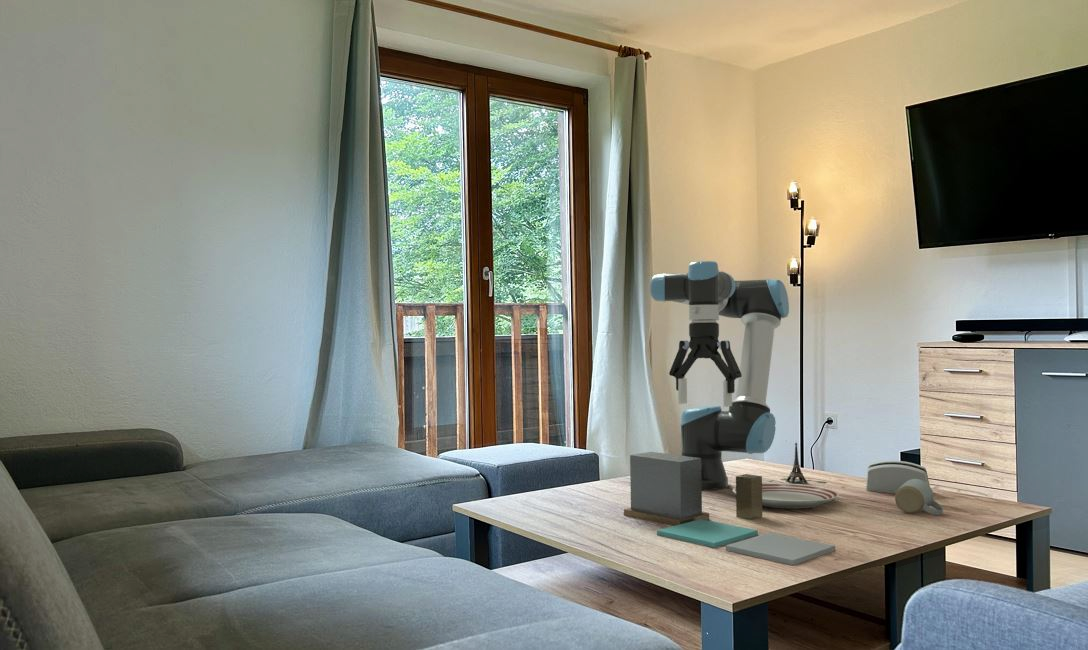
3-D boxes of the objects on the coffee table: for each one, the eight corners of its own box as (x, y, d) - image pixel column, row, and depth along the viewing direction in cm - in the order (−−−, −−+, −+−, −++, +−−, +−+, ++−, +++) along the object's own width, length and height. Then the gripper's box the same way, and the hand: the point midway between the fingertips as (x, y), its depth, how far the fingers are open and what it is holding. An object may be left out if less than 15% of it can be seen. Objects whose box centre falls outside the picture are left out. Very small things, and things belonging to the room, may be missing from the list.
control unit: (623, 515, 216) (623, 455, 216) (652, 508, 223) (652, 450, 223) (680, 527, 202) (679, 463, 202) (709, 519, 210) (708, 458, 210)
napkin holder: (931, 492, 240) (930, 460, 237) (930, 500, 236) (928, 468, 233) (867, 487, 248) (865, 456, 245) (865, 495, 244) (863, 464, 241)
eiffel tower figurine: (829, 484, 257) (828, 439, 257) (814, 489, 249) (814, 443, 249) (782, 478, 267) (781, 435, 267) (767, 483, 259) (766, 439, 259)
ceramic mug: (893, 512, 215) (893, 482, 215) (902, 507, 221) (902, 477, 221) (938, 518, 208) (939, 487, 208) (946, 512, 215) (946, 482, 215)
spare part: (736, 516, 212) (735, 476, 212) (747, 514, 215) (746, 474, 215) (751, 519, 209) (751, 478, 209) (762, 516, 212) (761, 476, 212)
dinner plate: (750, 489, 249) (750, 477, 249) (849, 497, 235) (849, 485, 235) (718, 507, 225) (718, 494, 225) (825, 518, 211) (825, 504, 211)
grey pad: (725, 550, 181) (725, 545, 181) (769, 537, 192) (769, 532, 192) (793, 565, 169) (792, 560, 169) (835, 550, 180) (835, 545, 180)
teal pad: (656, 534, 195) (656, 530, 195) (700, 523, 206) (700, 519, 206) (714, 547, 183) (714, 542, 183) (757, 534, 194) (757, 530, 194)
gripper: (655, 322, 226) (656, 403, 226) (738, 321, 209) (739, 408, 209) (672, 322, 232) (673, 401, 232) (754, 321, 214) (755, 406, 214)
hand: (704, 405), depth 220 cm, fingers open, 13 cm apart
